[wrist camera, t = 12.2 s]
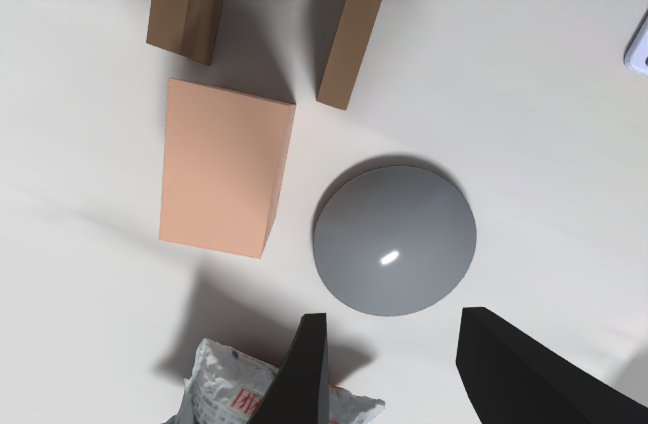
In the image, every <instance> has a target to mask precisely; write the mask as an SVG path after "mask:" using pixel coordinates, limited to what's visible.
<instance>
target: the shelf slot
mask: <svg viewBox="0 0 648 424" xmlns="http://www.w3.org/2000/svg"><path fill="white" fill-rule="evenodd" d="M222 1H223V0H151V8H150V16H149V24H148V32H147V40H146V43H148V44H151V45H153V46H156V47H159V48H162V49H165V50H167V51H170V52H173V53H176V54H179V55H182V56H184V57H187V58H190V59H193V60H196V61H199V62H202V63H205V64H208V65H211V60H212V55H213V50H214V44H215V39H216V33H217V28H218V23H219V17H220V12H221V7H222ZM381 1H382V0H346V1H345V5H344V8H343V12H342V15H341V18H340V22H339V25H338V29H337V32H336V35H335V39H334V42H333V46H332V49H331V52H330V56H329V59H328V63H327V66H326V69H325V73H324V76H323V80H322V83H321V86H320V90H319V93H318V97H317V100H316V101H317V102H320V103H323V104H326V105H329V106H332V107H335V108H338V109H342V110H346V109H347V106H348V103H349V99H350V96H351V93H352V90H353V87H354V84H355V81H356V78H357V75H358V72H359V69H360V66H361V63H362V59H363V56H364V53H365V50H366V47H367V44H368V41H369V38H370V35H371V32H372V29H373V26H374V23H375V20H376V16H377V13H378V10H379V7H380V4H381Z"/></svg>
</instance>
